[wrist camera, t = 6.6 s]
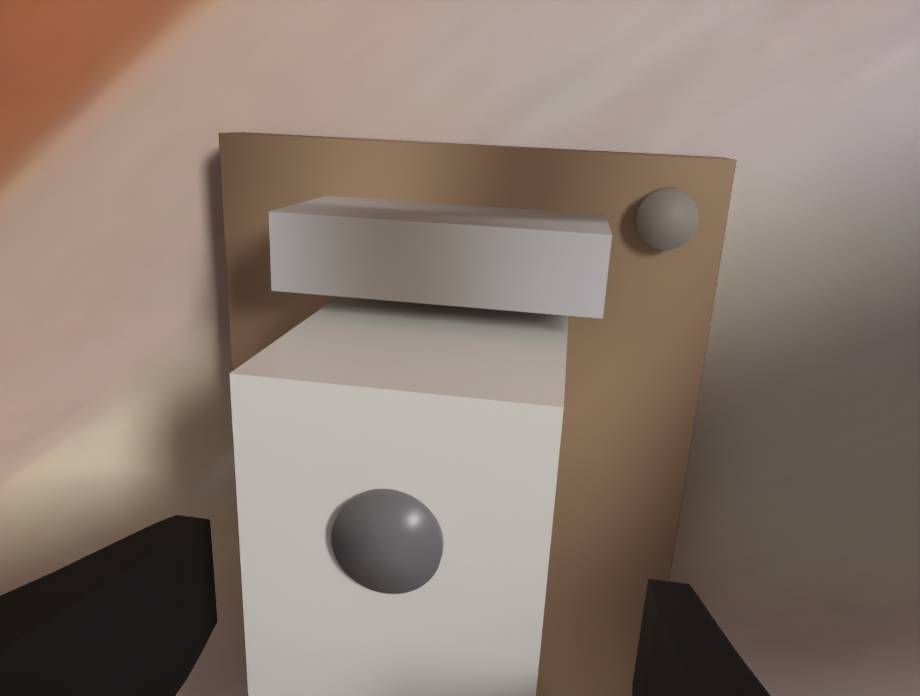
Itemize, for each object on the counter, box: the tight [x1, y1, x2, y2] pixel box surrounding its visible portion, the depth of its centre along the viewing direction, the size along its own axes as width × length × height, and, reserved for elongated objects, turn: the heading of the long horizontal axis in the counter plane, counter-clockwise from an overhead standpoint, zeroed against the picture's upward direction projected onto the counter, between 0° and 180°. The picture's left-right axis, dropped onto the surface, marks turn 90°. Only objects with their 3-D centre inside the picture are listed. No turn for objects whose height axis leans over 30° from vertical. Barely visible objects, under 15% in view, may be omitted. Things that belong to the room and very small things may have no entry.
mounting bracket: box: [219, 132, 736, 696], centre depth 14 cm, size 9×14×4 cm, turn 177°
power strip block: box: [229, 296, 568, 696], centre depth 12 cm, size 4×8×5 cm, turn 177°
